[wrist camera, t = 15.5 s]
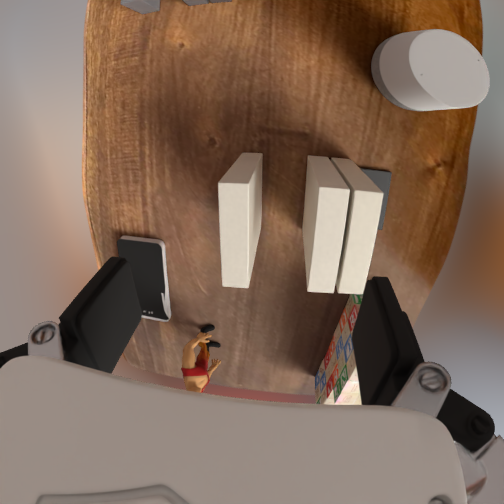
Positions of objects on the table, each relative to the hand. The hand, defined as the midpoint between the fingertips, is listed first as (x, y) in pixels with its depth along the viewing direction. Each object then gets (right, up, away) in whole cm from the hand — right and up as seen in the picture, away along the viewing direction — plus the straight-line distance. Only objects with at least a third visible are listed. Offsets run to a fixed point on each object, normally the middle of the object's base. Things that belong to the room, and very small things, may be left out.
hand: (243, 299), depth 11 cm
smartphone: (-17, -2, +36) cm, 39 cm away
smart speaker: (+18, +23, +17) cm, 34 cm away
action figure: (-7, -13, +40) cm, 42 cm away
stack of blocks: (+17, -14, +37) cm, 43 cm away
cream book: (0, +10, +27) cm, 28 cm away
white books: (+12, +9, +26) cm, 30 cm away
